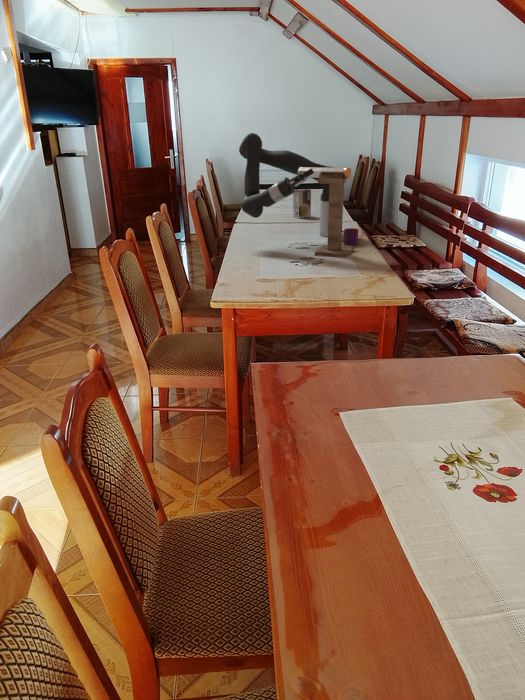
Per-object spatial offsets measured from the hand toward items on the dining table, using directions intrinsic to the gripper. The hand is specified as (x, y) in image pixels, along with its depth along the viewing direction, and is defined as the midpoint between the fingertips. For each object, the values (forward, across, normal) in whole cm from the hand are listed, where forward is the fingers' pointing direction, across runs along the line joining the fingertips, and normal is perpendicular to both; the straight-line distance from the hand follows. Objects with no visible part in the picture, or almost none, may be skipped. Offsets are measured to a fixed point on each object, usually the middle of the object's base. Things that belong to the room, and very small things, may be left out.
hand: (314, 170), depth 228 cm
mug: (-8, +20, +36) cm, 42 cm away
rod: (+2, +1, +5) cm, 5 cm away
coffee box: (-46, +86, +14) cm, 99 cm away
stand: (-9, 0, +35) cm, 36 cm away
